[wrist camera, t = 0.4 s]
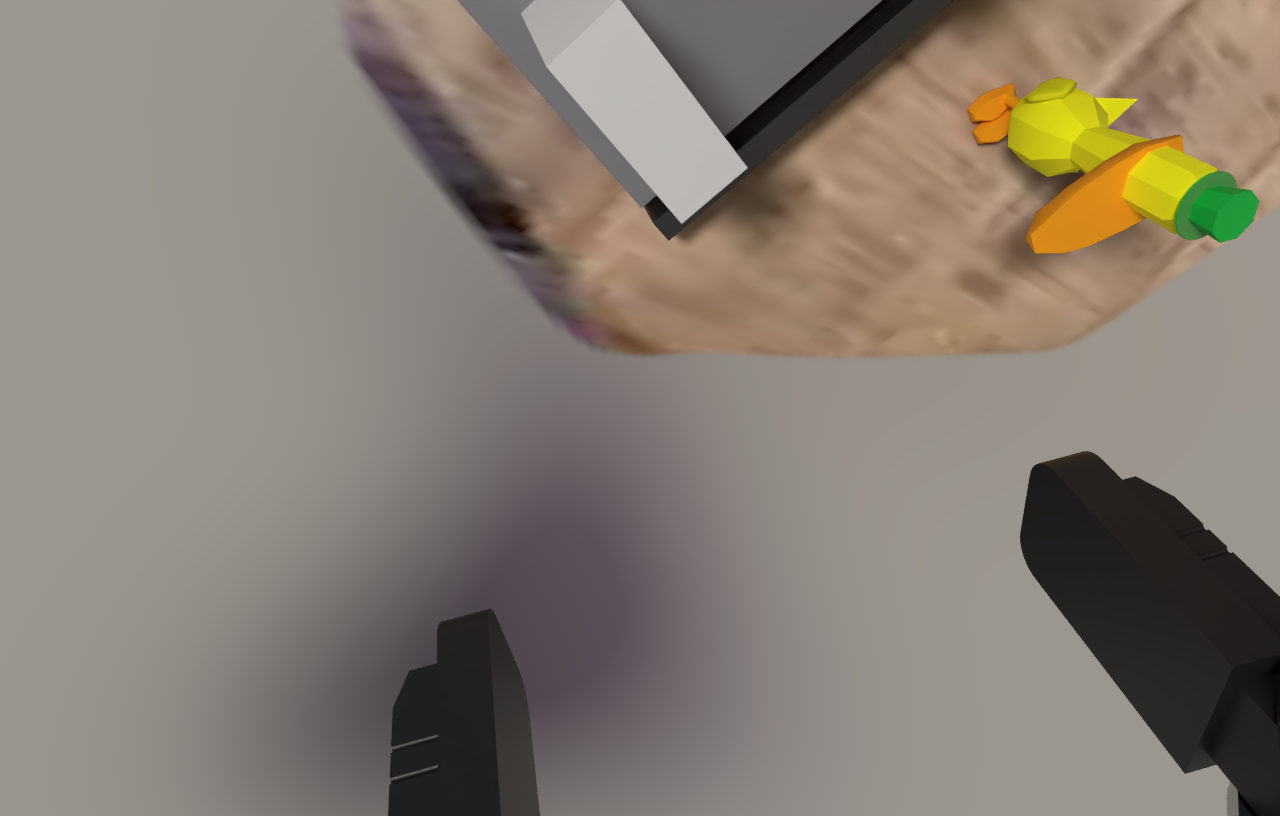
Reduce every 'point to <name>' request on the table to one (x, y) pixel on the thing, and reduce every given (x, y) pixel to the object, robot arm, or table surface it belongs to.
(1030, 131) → the toy figure
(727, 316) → the table surface
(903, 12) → the lane rails
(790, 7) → the pull strip
